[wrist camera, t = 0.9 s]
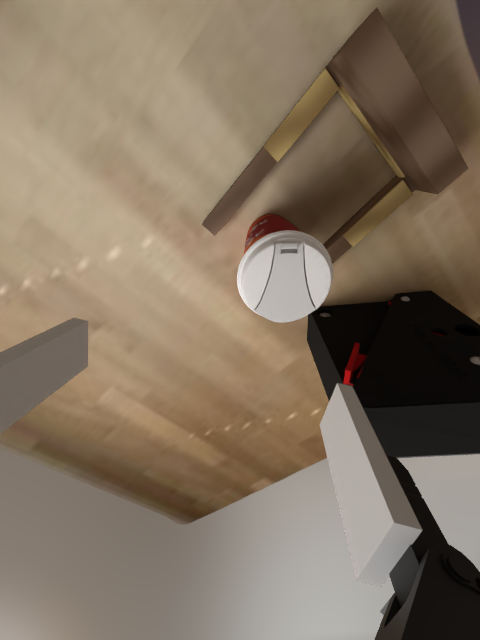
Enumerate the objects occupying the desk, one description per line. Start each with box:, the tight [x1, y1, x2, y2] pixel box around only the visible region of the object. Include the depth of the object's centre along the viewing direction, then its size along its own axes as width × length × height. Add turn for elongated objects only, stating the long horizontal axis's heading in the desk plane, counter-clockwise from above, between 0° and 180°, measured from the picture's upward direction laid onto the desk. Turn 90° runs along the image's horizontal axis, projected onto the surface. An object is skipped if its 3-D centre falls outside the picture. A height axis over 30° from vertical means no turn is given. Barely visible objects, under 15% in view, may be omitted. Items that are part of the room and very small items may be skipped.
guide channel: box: [202, 8, 468, 263], centre depth 29 cm, size 16×22×6 cm
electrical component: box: [307, 291, 480, 458], centre depth 33 cm, size 18×10×20 cm, turn 95°
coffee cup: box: [237, 214, 333, 322], centre depth 28 cm, size 8×8×15 cm
